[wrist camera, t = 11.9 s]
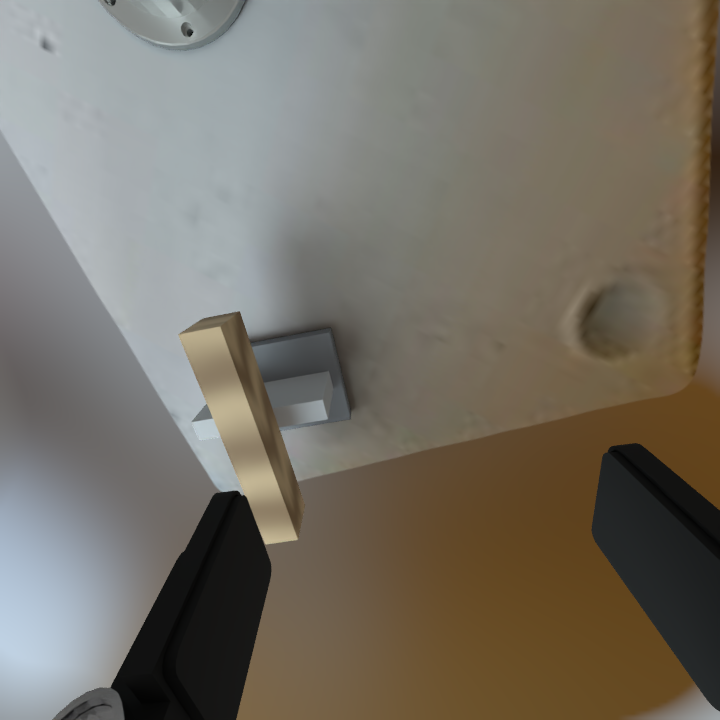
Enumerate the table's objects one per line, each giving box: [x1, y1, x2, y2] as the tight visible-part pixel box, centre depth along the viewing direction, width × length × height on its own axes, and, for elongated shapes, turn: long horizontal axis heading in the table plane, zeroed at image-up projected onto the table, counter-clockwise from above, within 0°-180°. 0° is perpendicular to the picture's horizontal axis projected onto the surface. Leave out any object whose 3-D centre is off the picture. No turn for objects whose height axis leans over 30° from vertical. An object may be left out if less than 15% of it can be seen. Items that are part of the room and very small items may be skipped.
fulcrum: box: [191, 328, 351, 441], centre depth 34 cm, size 10×14×8 cm
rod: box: [178, 311, 305, 544], centre depth 29 cm, size 20×3×4 cm, turn 11°
